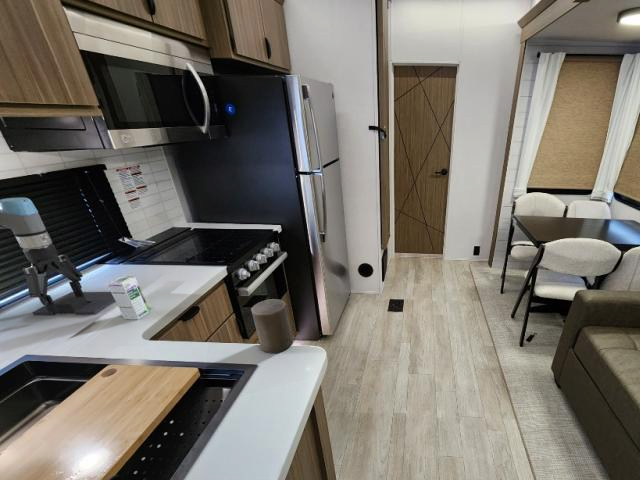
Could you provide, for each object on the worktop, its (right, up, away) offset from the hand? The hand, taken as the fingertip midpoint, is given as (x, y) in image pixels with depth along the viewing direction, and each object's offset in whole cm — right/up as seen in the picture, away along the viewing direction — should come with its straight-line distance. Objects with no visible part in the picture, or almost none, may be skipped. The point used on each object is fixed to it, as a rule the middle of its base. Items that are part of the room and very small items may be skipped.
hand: (67, 304), depth 120 cm
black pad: (+1, -3, +2) cm, 4 cm away
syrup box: (+26, -4, 0) cm, 26 cm away
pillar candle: (+83, -13, -17) cm, 85 cm away
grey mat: (0, -1, +6) cm, 6 cm away
